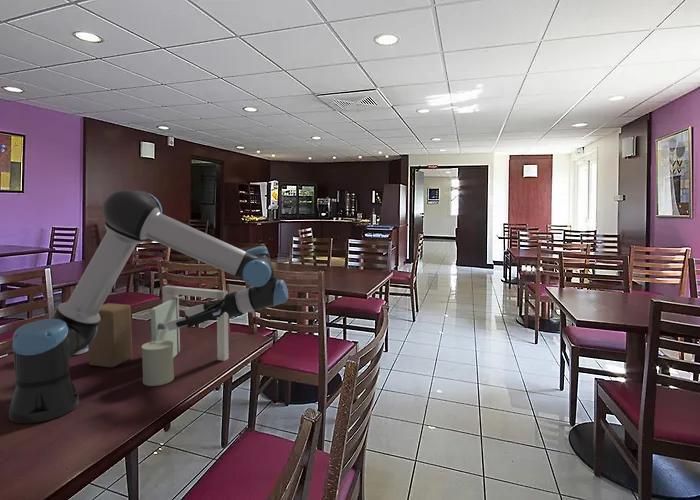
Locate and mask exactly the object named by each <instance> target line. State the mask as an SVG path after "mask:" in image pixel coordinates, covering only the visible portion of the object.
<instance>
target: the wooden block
mask: <svg viewBox="0 0 700 500" xmlns="http://www.w3.org/2000/svg"><path fill="white" fill-rule="evenodd" d="M131 308H132V306H131V305H130V304H123V303H110V302H107V303H103V305H102V307H101V309H100V310H99V312H98V313H99V315H100V317H101V319H100V321H99V323H98V325H97V333H96V335H95V337H94V339H93V340H92V342H91V343H90V344H89V345H88V351H87V353H88V364H89V365H90V366H95V367H96V366H97V367H105V368H115V367H117V366H119V365H121V364H123V363H125V362H127V361H129V360H131V359H133V337H132V336H133V334H132V332H133V331H132V309H131Z"/></svg>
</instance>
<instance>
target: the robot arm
mask: <svg viewBox="0 0 700 500" xmlns="http://www.w3.org/2000/svg"><path fill="white" fill-rule="evenodd" d="M161 204H162V203H161V202H160V200H158V198H156V197H155V195H153V194H151V193H149V192H146V191H145V190H132V189H119V190H116V191H113V192H112V193H111V194H109V195H108V196H107V197H106V199H105V200H104V202H103V205H102V214H103V217H104V219H105V222H104V227H105V231H106V233H105V235H104V236H103V238H102V240H101V241H100V244H98V247H97V248H96V249H95V250H96V251H95V252H94V254H93V256H92V257H91V259H90V261H89V263H88V265H87V266H86V268H85V270H84V272H83V273H82V275H81V277H80V279H79V280H78V282H77V284H76V286H75V288H74V290H73V291H72V293H71V295H70V297H69V298H68V300H67V301H65V302H62V303H60V304H58V306H57V308H56V309H55V311H54V313H53V315H52V317H51V318H44V319H43V318H42V319H38V320H35V321H34V322H33V321H32V322H31V321H30V322H27V323H25V324H24V325H21V326H19V327H18V328H17V329H16V330H15V331H14V332H13V335H12V342H11V347H12V352H13V364H14V365H13V366H14V376H15V389H14V392H13V395H12V398H11V402H10V405H9V408H8V419H9V421H11V422H12V423H16V424H21V425H22V424H25V425H26V424H36V423H42V422H47V421H50V420H53V419H56V418H60V417H62V416H64V415H67V414H69V413H70V412H71V411H74V410H75V409H77V407H78V406H79V404H80V397H79V393H78V390H77V388H76V386H75V385H74V383H73V381H72V379H71V378H72V377H71V373H70V358H71V357H73V356H75V355H74V354H76V353H77V352H78V351H80V350H82V349H83V348H85V347H86V346H88V345H89V344H90V343H91V342H92V340H93V339H94V337H95V335H96V333H97V325H98V323H99V321H100V319H101V317H100V315H99V313H98V312H99V310H100V309H101V307H102V305H104V304H105V301H106V300H107V298H108V296H109V294H110V293H111V291H112V290H113V287H114V285H115V284H116V283H117V280H118V278H119V276H120V275H121V273H122V271H123V269H124V268H125V266H126V264H127V262H128V260H129V259H130V257H131V256H132V253H133V252H134V249H135V248H136V246H137V245H139V244H142V243H145V241H146V240H148V239H149V240H151V241H153V242H155V243H158V244H160V245H163V246H165V247H167V248H169V249H172V250H174V251H176V252H179V253H182V254H183V255H186V256H188V257H190V258H192V259H195V260H198V261H199V262H202V263H204V264H206V265H209V266H211V267H214V268H216V269H218V270H220V271H223V272H225V273H228V274H230V275H232V276H234V277H236V278H239V279H241V280H243V281H244V282H245V283H246V284H247V285H248V286H250V287H248V288H244V289H241V290H237V291H233V292H230V293H229V292H228V294H226V295H225V297H224V299H220V300H217V299H213V300H209V301H207V302H205V303H204V304H198V305H194V306H191V307H187V308H184V309H183V311H184V313H185V315H184V317H181V318H180V317H179V319H176V320H172V321H169V322H166V324H167V327H168V330H169V331H170V330H174V329H178V328H180V329H182V328H185V327H187V328H191V327H193V326H194V327H195V326H197V325H199V324H203V323H205V322H208V321H210V320H213V319H217V317H220V316H221V315H223V313H224V312H227V313H228V317H229V316H230V317H231V318H233V317H237V316H241V315H242V314H247V313H250V314H254V312H255V311H258V310H263V309H266V308H267V309H268V308H272V307H276V306H278V305H281V304H284V303H287V302H288V301H289V289H288V287H287V284H286V281H285V280H283V279H278V277H277V275H276V273H275V269H274V267H273V263H272V259H271V257H270V253H269V251H268V248H267V247H266V246H265V245H261V246H260V245H259V246H256V247H252V248H249V249H247V250H243V249H241V248H239V247H236V246H234V245H232V244H229V243H228V242H225V241H223V240H221V239H219V238H216V237H215V236H212V235H210V234H208V233H206V232H203V231H201V230H198V229H196V228H194V227H192V226H190V225H188V224H185V223H184V222H181V221H179V220H177V219H174V218H172V217H170V216H167V215H165V214H164V213H163V207H162V205H161Z"/></svg>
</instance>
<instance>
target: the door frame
mask: <svg viewBox="0 0 700 500" xmlns="http://www.w3.org/2000/svg"><path fill="white" fill-rule="evenodd" d="M161 288H162V289H161V290H162V291H161V292H162V303H164V302H166V301H168V300H170V299H172V298H177V301H178V319H180V301H179V300H180V296H187V297H196V298H207V299H214V300H220V299H224V297H225V295H226V294H229V292H228V290H219V289H208V288H199V287H188V286H187V287H185V286H178V285H177V286H176V285H164V286H163V285H162V287H161ZM180 329H181V328H178V340H179V352H181V338H180V337H181V334H180ZM216 336H217V337H216V340H217V342H216V347H217V348H216V349H217V353H216V354H217V360H218V361H222V362H224V361H228V360H229V359H230V358H229V355H230V353H229V352H230V351H229V315H228V313H227V312H224V313H223V315H221V316H220V317H217V318H216Z"/></svg>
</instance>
